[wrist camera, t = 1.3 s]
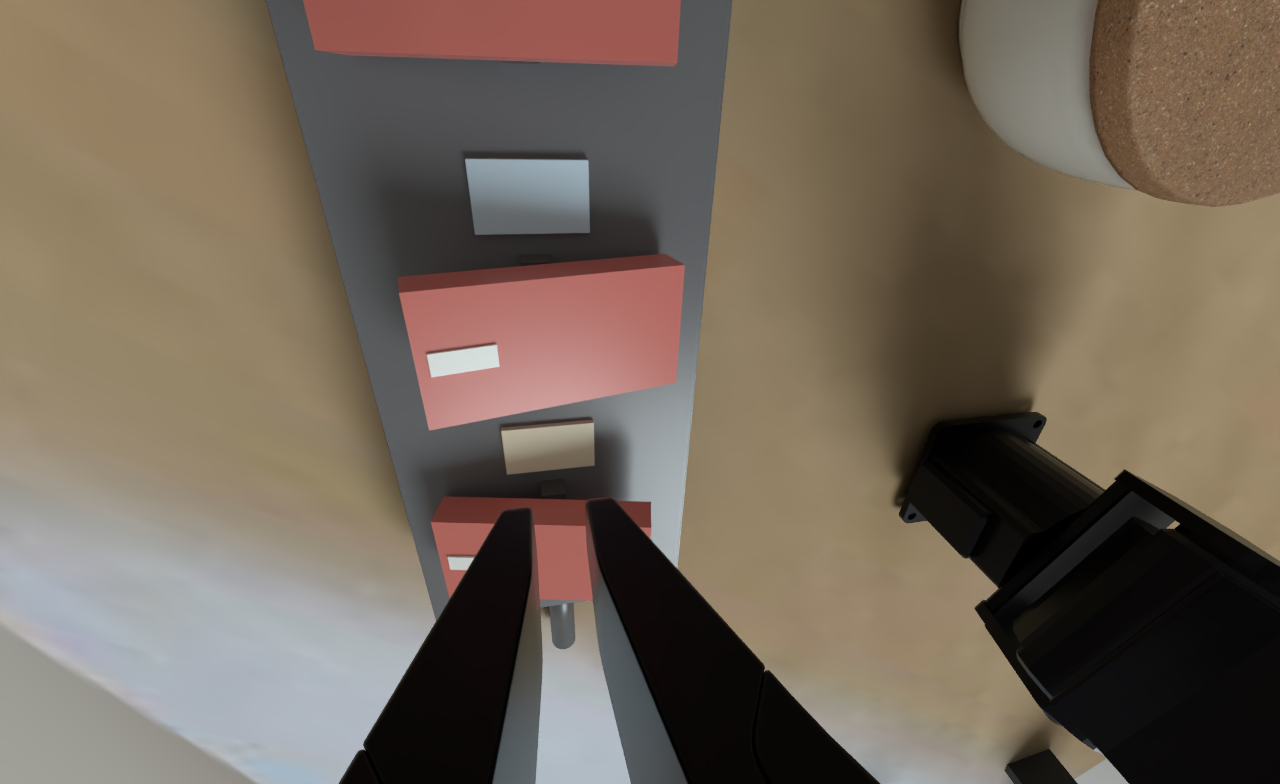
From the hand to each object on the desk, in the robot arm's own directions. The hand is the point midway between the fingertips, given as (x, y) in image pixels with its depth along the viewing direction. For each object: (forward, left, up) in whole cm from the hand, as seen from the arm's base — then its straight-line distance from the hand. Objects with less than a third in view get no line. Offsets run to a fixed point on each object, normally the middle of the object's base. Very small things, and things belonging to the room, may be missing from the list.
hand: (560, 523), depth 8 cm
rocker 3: (0, +8, -8) cm, 12 cm away
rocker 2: (0, 0, -8) cm, 8 cm away
